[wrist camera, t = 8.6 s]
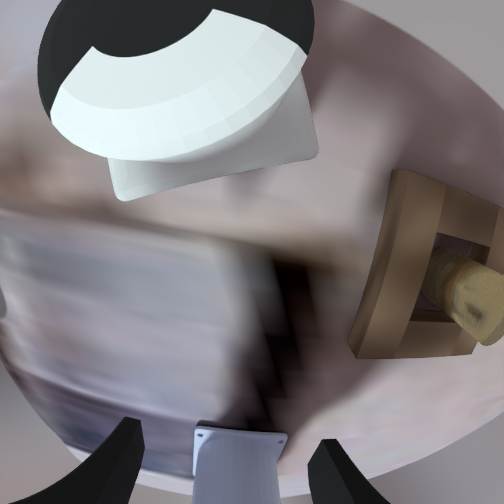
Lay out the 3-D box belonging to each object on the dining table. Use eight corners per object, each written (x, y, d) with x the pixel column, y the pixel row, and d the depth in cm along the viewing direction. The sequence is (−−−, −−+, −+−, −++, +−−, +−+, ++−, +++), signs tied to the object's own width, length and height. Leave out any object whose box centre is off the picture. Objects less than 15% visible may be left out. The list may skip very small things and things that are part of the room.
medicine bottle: (145, 78, 14) (18, -19, 2) (263, 50, 14) (293, -105, 2) (166, 190, 16) (20, 238, 4) (289, 162, 16) (400, 148, 4)
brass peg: (448, 299, 18) (503, 343, 12) (411, 297, 18) (467, 347, 11) (463, 250, 17) (526, 283, 11) (426, 243, 17) (495, 278, 10)
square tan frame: (459, 342, 20) (471, 354, 18) (347, 342, 19) (356, 358, 17) (501, 211, 16) (517, 216, 15) (392, 169, 16) (408, 170, 14)
